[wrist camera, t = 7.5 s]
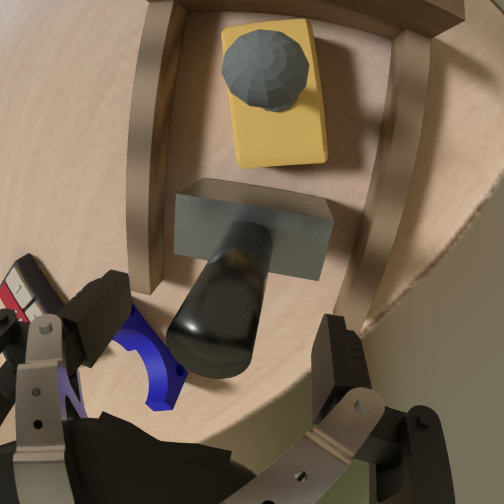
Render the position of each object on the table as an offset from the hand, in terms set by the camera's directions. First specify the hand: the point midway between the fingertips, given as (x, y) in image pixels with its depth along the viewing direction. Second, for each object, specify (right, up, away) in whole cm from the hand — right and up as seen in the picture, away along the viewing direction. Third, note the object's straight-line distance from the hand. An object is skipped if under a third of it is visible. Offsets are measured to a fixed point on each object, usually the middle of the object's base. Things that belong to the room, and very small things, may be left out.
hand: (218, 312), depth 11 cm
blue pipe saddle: (-11, -8, +20) cm, 24 cm away
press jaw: (+2, +5, +11) cm, 12 cm away
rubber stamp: (+3, +14, +8) cm, 16 cm away
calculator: (-28, -6, +22) cm, 36 cm away
